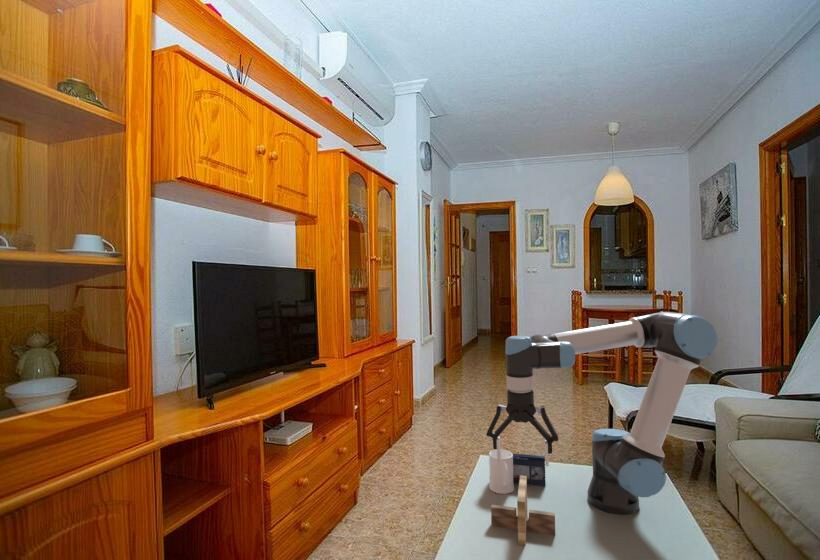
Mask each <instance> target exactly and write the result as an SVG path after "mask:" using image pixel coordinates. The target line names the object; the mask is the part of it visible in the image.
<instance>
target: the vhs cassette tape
mask: <svg viewBox="0 0 820 560" xmlns="http://www.w3.org/2000/svg"><path fill="white" fill-rule="evenodd" d="M511 453H512V452H511ZM512 454H513V484H515V483H516V485H517V484H518V485H519V481H520V475H521V476H527V486H536V487H546V479H547V478H546V459H545V455H537V454H535V455H534V454H524V453H523V454H522V453H512Z"/></svg>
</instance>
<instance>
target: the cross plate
mask: <svg viewBox="0 0 820 560" xmlns="http://www.w3.org/2000/svg"><path fill="white" fill-rule="evenodd" d="M516 501H517V503H516V504H517V505H516V506H517V507H516V513H517V516H518V529H517V544H518V545H522V546H526V543H527V531H526V518H528V516H529V512H528V485H527V476H521V475H520V481H519V484H518V492H517V500H516Z"/></svg>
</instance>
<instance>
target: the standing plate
mask: <svg viewBox="0 0 820 560" xmlns="http://www.w3.org/2000/svg"><path fill="white" fill-rule="evenodd" d="M490 513H491V514H490V515H491V516H490V517H491V518H490V519H491V521H490V522H491V526H493V527H496V528H497V527H499V528H504V529H512V530H518V514H517V507H514V506H505V505H498V504H491V506H490ZM526 532H531V533H540V534H546V535H553V536H556V513H555V512H550V511H545V510H544V511H543V510H535V509H528V517H527V518H526Z"/></svg>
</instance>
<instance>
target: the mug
mask: <svg viewBox="0 0 820 560" xmlns="http://www.w3.org/2000/svg"><path fill="white" fill-rule="evenodd" d="M488 458H489V465H488V466H489V489H490V491H492V492H493V493H495V492H496V494H500V495H507V494H511V493H513V492H514V491H515V487H514V484H515V483H513V454H512V452H511V451H509V450H507V449H501V460H500V462H497V449H493V450H490V451H489V453H488Z"/></svg>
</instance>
